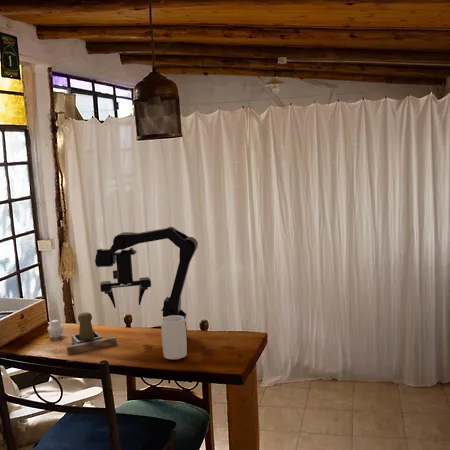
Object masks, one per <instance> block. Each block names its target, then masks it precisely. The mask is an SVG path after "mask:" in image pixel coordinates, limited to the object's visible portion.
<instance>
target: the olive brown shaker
mask: <svg viewBox="0 0 450 450" xmlns="http://www.w3.org/2000/svg"><path fill="white" fill-rule="evenodd" d="M92 320H93V316H92V314H91V313H90V312H86V311H85V312H81V313H79V314H78V316H77V321H78V322H79V330H78V331H79V333H78V334H79V341H81V340H86V339H91V338H94V333H93V331H94V330H93V326H92Z"/></svg>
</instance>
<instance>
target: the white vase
mask: <svg viewBox="0 0 450 450" xmlns="http://www.w3.org/2000/svg"><path fill="white" fill-rule="evenodd" d="M63 331H64V325H63V324H62V323H61V321H60V320H58V319H53V320H51V321H50V324H49V326H47V332H48V334H49V335H50V336H51V338H52V339H57V338H61V336H62V333H63Z"/></svg>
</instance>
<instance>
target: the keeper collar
mask: <svg viewBox="0 0 450 450" xmlns="http://www.w3.org/2000/svg"><path fill="white" fill-rule="evenodd" d="M93 333H94V338H91V339H86V340H81V341H79V333H77V334H72V335H71V342H72V345H75V344H80V343H85V342H90V341H94V340H99V339H103V337H102V335H100V334H99V332H97V331H96V330H93Z"/></svg>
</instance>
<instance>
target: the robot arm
mask: <svg viewBox="0 0 450 450" xmlns="http://www.w3.org/2000/svg"><path fill="white" fill-rule="evenodd" d="M167 239H168V240H169V241H171V242H172V243H173V244H174V245H175V246H176V247H178V248H179V252H178V253H179V263H178V266H177V270H176V273H175V278H174V282H173V285H172V287H171V288H172V289H171V293H170V296H169V297H168V296H166V297H165V299H164V301H163V307H162V309H161V312H162V318H164V317H167V316H172V315H179V316H183V317H184V318H185V319H186V318H187V313H186V312H185V311H183V310H182V309H181V306H182V293H183V289H184V286H185V282H186V279H187V275H188V271H189V267H190V264H191V261H192V260H193V259H192V258H193V257H194V255H195V253H196V250H197V249H198V246H199V242H198V240H197V239H196V238H194V237H193V236H188V235H187V234H186V233H183V232H182V231H180V230H178V229H176V228H175V227H173V226H168V227H166V228H160V229H154V230H147V231H143V232H131V231H129V232H127V231H125V232H124V231H123V232H121V233H118V234H117V235H115V236H114V238H113V239H112V240H113V241H112V245H111V246H110V247H109V248H104V249H103V248H97V249H96V254H95V259H94V263H95V266H96V268H109V267H110V268H111V267H114V265H115V264H116V269H115V270H112V277H113V278H112V279H113V280H117V282H111V280H103V281H101V282H100V283H99V285H100V287H99V288H100V292H101V293H104V294H105V295H107V296H108V297H109V299H110V300H111V303H112V306H113V308H114V309H116V302H115V297H114V292H113V289H116V288H126V287H135V286H136V287H137V286H138V306H141V303H142V299H143V297H144V294H145V291H146V290H148V289H149V288H151V287H152V281H151V279H150V277H148V276H145V277H139V279H138V280H134V277H133V263H132V255H133V256H134V255H135V254H137V250H135V249H133V247H134V246H136V245H139V244H143V243H144V244H145V243H148V242H149V243H150V242H155V241H161V240H167ZM119 251H120V252H119ZM185 325H186V338H187V341H188V340H189V337H188V331H187V328H188V327H187V322H186V320H185Z"/></svg>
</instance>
